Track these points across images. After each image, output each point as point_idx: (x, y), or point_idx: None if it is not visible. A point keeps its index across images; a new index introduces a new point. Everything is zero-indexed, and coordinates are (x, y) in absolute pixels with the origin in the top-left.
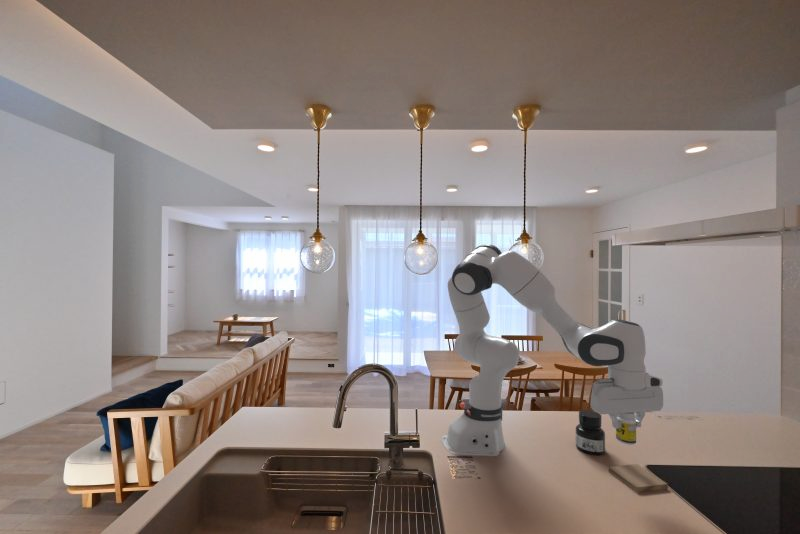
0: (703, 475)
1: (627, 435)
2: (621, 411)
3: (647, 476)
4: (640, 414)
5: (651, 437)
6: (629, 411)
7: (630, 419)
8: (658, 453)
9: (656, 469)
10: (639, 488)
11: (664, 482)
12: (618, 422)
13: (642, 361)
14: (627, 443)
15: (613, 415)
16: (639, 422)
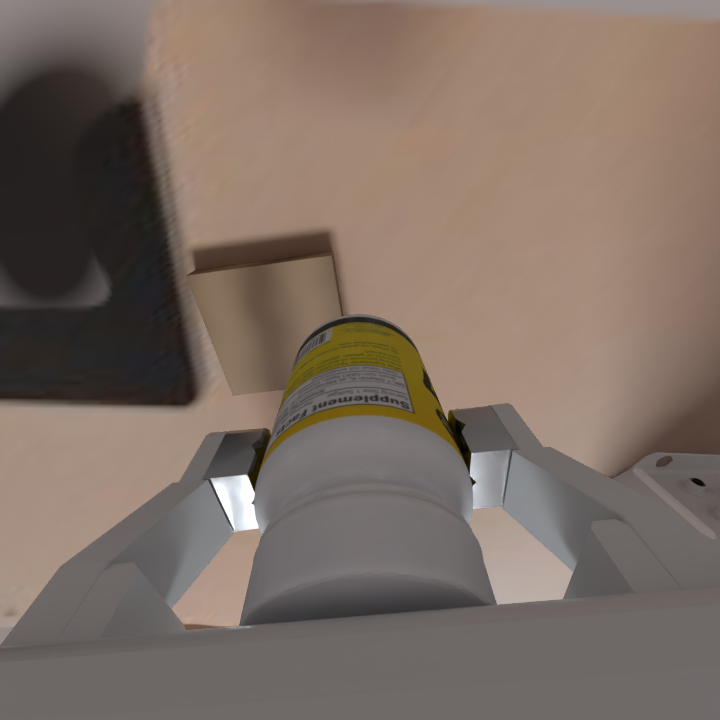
0: (8, 347)
1: (398, 351)
2: (701, 646)
3: (240, 323)
4: (134, 580)
5: (89, 531)
6: (428, 649)
7: (366, 482)
8: (111, 460)
9: (169, 382)
10: (319, 255)
11: (194, 284)
12: (527, 450)
13: None
14: (389, 323)
15: (695, 544)
16: (209, 468)
